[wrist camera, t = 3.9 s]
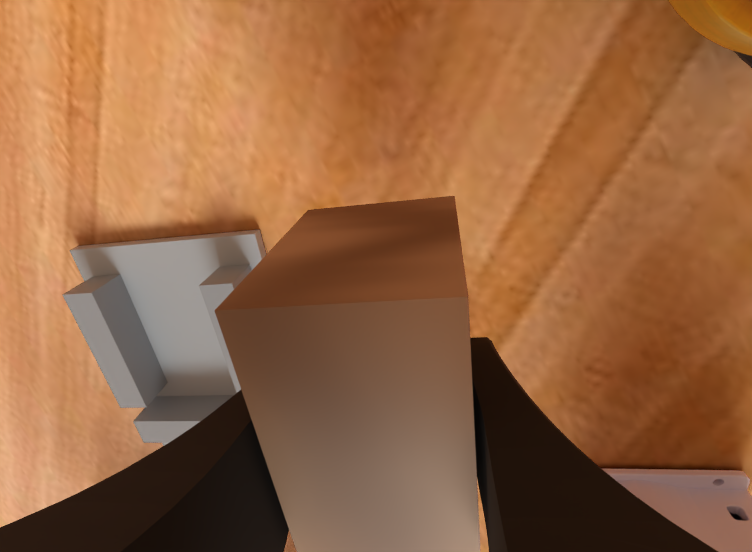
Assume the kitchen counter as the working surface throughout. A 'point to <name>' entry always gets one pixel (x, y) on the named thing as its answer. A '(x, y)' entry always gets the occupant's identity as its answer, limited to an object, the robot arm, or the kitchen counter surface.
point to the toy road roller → (721, 22)
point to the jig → (163, 323)
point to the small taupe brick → (363, 377)
